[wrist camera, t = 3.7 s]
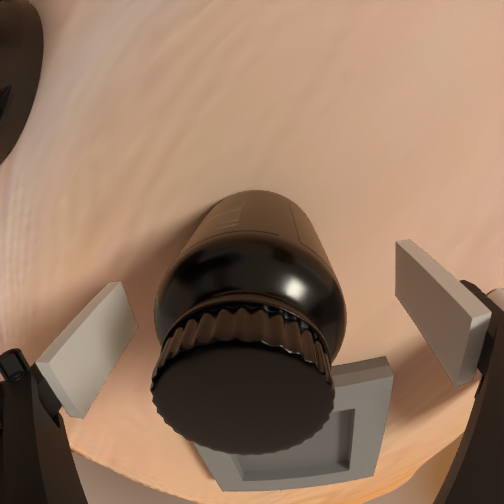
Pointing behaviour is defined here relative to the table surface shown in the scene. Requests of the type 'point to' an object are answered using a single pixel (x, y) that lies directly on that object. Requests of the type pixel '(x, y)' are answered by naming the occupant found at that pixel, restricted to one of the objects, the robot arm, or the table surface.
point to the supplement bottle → (249, 329)
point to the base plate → (320, 439)
